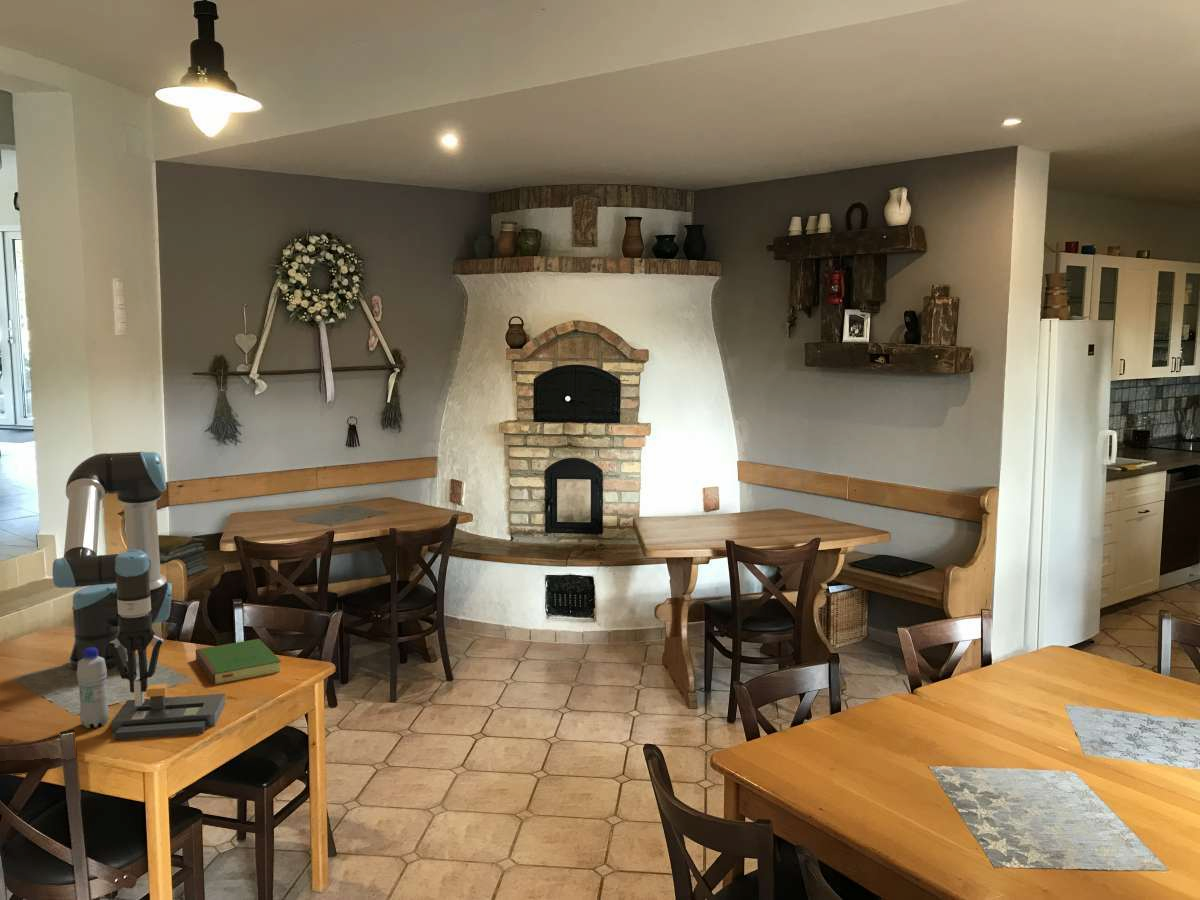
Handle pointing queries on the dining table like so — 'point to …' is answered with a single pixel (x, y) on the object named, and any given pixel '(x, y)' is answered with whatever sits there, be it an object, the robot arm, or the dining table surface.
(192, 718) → the panel
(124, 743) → the dining table surface
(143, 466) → the robot arm
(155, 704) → the toggle
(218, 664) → the hardcover book
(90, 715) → the bottle
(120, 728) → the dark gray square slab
